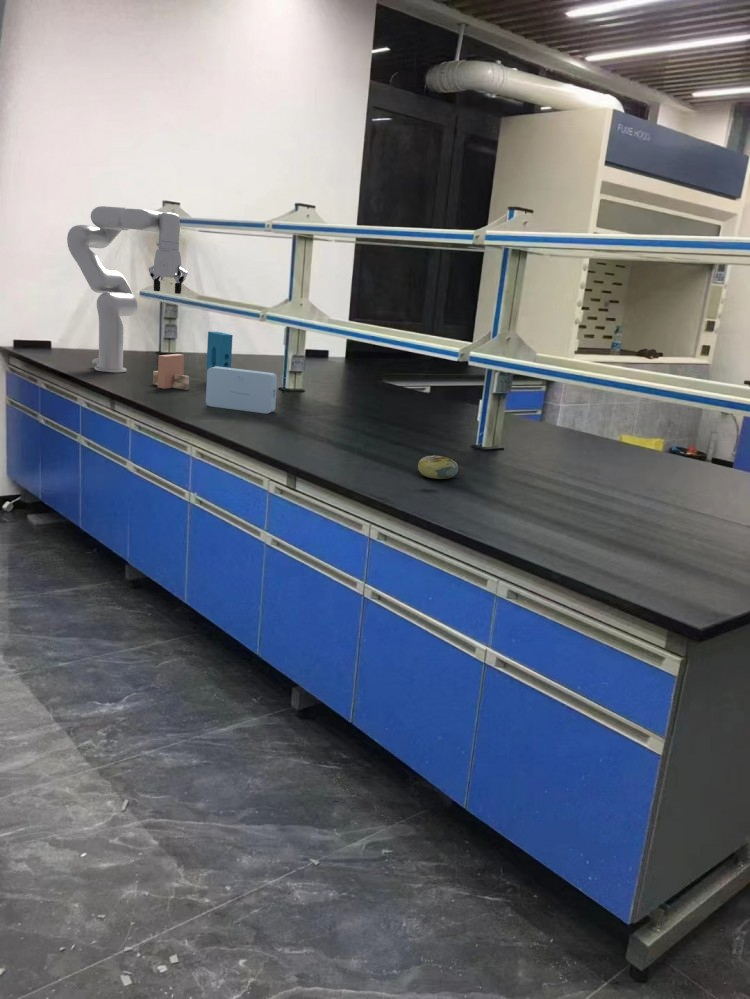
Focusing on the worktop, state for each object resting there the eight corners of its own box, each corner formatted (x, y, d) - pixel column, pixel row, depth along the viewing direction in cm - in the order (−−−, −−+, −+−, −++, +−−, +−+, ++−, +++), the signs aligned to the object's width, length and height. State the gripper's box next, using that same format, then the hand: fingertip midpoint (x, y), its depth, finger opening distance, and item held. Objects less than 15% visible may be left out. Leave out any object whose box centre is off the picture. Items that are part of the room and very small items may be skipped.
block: (230, 385, 344) (233, 335, 339) (220, 385, 341) (222, 334, 336) (215, 380, 353) (218, 331, 348) (205, 380, 350) (207, 331, 344)
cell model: (414, 471, 215) (418, 441, 226) (418, 495, 219) (422, 464, 231) (455, 468, 213) (457, 437, 224) (458, 492, 217) (460, 461, 229)
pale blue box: (204, 406, 291) (206, 367, 288) (210, 404, 297) (212, 365, 293) (269, 414, 288) (272, 375, 284) (275, 412, 293) (277, 373, 290)
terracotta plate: (157, 387, 320) (158, 355, 317) (176, 384, 331) (177, 353, 328) (164, 388, 319) (165, 356, 316) (183, 386, 330) (184, 354, 327)
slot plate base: (153, 384, 327) (153, 371, 325) (155, 383, 328) (156, 370, 327) (186, 389, 322) (186, 376, 320) (188, 389, 323) (189, 376, 322)
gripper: (143, 244, 326) (142, 290, 330) (182, 247, 320) (180, 294, 325) (155, 245, 333) (154, 290, 337) (193, 249, 327) (191, 294, 331)
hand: (167, 292), depth 331 cm, fingers open, 9 cm apart
